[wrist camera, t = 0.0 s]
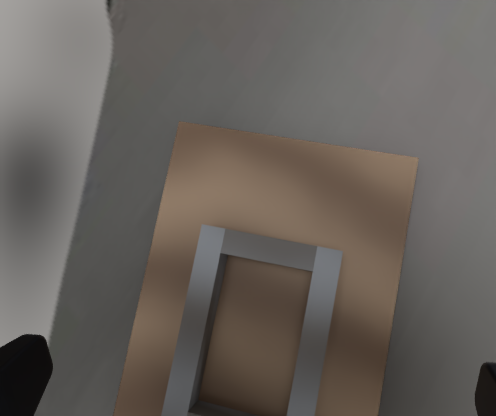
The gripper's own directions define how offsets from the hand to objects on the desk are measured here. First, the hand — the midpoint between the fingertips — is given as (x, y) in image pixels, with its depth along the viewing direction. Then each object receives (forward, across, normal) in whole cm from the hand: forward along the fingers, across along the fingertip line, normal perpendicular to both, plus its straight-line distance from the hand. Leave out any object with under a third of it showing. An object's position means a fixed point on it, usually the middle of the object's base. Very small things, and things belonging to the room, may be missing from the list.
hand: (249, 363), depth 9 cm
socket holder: (+13, +1, +8) cm, 15 cm away
